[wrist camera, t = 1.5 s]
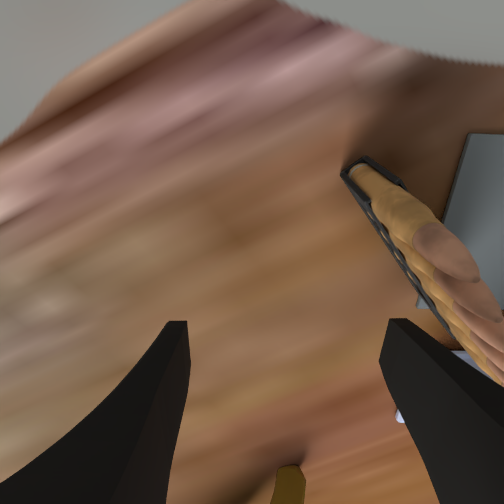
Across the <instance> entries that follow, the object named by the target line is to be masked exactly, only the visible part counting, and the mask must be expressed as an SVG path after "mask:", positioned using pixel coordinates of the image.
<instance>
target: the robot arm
mask: <svg viewBox="0 0 504 504" xmlns="http://www.w3.org/2000/svg"><path fill="white" fill-rule="evenodd" d="M379 364H380V367H381V370H382V373H383V376H384V379H385V381H386V384H387V387H388V389H389V392H390V394H391V396H392V398H393V400H394V402H395V404H396V406H397V408H398V410H397V413H396V419H397V421H398V422H400V423H405V424H406V426H407V428H408V430H409V432H410V434H411V436H412V438H413V440H414V442H415V444H416V446H417V448H418V450H419V453H420V455H421V457H422V459H423V461H424V464H425V466H426V469H427V471H428V474H429V476H430V479H431V482H432V484H433V487H434V489H435V492H436V494H437V497H438V500H439V503H440V504H504V387H503V386H501V385H499V384H498V383H496V382H495V381H494V380H493V379H492V378H491V377H490V376H489V375H488V374H487V373H485V372H484V371H483V370H482V369H481V368H480V367H479V366H478V365H477V364H476V363H475V361H474V360H473V359H472V358H471V356H470V355H469V354H468V353H467V351H450V350H449V349H447V348H446V347H445V346H443V345H442V344H441V343H439V342H438V341H437V340H435V339H434V338H433V337H431V336H430V335H429V334H427V333H426V332H425V331H423V330H422V329H421V328H419V327H418V326H417V325H415V324H414V323H412V322H411V321H410V320H408V319H407V318H390V319H389V323H388V326H387V330H386V334H385V338H384V342H383V346H382V350H381V354H380V358H379ZM190 368H191V359H190V349H189V338H188V327H187V321H169V322H168V323H166V325H165V326H164V328H163V329H162V331H161V332H160V334H159V335H158V337H157V338H156V339H155V341H154V342H153V343H152V345H151V346H150V347H149V349H148V350H147V351H146V352H145V354H144V355H143V356H142V358H141V359H140V360H139V361H138V363H137V364H136V365H135V366H134V367H133V369H132V370H131V371H130V372H129V373H128V374H127V375H126V377H125V378H124V379H123V380H122V381H121V382H120V383H119V384H118V386H117V387H116V388H115V389H114V390H113V391H112V392H111V393H110V394H109V395H108V396H107V397H106V398H105V399H104V400H103V401H102V402H101V403H100V404H99V405H98V406H97V407H96V408H95V409H94V410H93V411H92V412H91V413H90V414H88V415H87V416H86V417H85V418H84V419H83V420H82V421H81V422H79V423H78V424H77V425H76V426H75V427H74V428H73V429H72V430H70V431H69V432H68V433H67V434H66V435H65V436H63V437H62V438H61V439H60V440H58V441H57V442H56V443H55V444H53V445H52V446H51V447H49V448H48V449H47V450H46V451H44V452H43V453H42V454H40V455H39V456H38V457H37V458H35V459H34V460H33V461H31V462H30V463H29V464H27V465H26V466H25V467H23V468H22V469H20V470H19V471H18V472H16V473H15V474H13V475H12V476H10V477H9V478H7V479H6V480H4V481H3V482H1V483H0V504H166V497H167V490H168V483H169V476H170V470H171V464H172V459H173V454H174V450H175V446H176V441H177V437H178V433H179V428H180V424H181V420H182V415H183V411H184V407H185V402H186V398H187V393H188V386H189V377H190Z"/></svg>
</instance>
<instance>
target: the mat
mask: <svg viewBox="0 0 504 504" xmlns="http://www.w3.org/2000/svg"><path fill="white" fill-rule="evenodd" d="M441 223H442V224H443V225H444V226H445V227H446V229H448V230H449V231H450V232H452V233H453V234H454V235H455V236H456V237H457V238H458V239H459V240H460V241H461V242H462V243H463V244H464V245H465V246H466V248H467V249H468V250H469V252H470V253H471V255H472V257H473V258H474V260H475V262H476V264H477V266H478V268H479V271H480V278H481V279H482V280H483V281H484V282H485V283H486V285H487V286H488V287H489V289H490V290H491V292H492V293H493V295H494V297H495V299H496V300H497V302H498V304H499V306H500V308H501V310H504V134H475V133H468V136H467V139H466V142H465V146H464V149H463V152H462V156H461V159H460V162H459V165H458V169H457V172H456V175H455V179H454V182H453V185H452V188H451V192H450V195H449V198H448V202H447V205H446V208H445V212H444V215H443V218H442V221H441ZM416 307H417V308H418V309H430V308H429V307H428V306H427V304H426V303H425V302H424V300H423V299H422V298H421V297H420V295H419V297H418V300H417V304H416Z"/></svg>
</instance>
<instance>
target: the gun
mask: <svg viewBox="0 0 504 504" xmlns="http://www.w3.org/2000/svg"><path fill="white" fill-rule="evenodd" d="M305 486H306V479H305V477H304V475H303V473H302V471H301V469H300V467H298V466H296V465H289V466H285V467H281V468H279V469H278V471H277V476H276V483H275V489H274V493H273V496H272V499H271V502H270V504H304V496H305Z"/></svg>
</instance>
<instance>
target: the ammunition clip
mask: <svg viewBox="0 0 504 504" xmlns="http://www.w3.org/2000/svg"><path fill="white" fill-rule="evenodd" d="M340 176H341V178H342V179H343V181H344V182H345V184H346V185H347V187H348V189H349V190H350V192H351V193H352V195H353V196H354V198H355V199H356V201H357V202H358V204H359V205H360V207H361V208H362V210H363V211H364V213H365V214H366V216H367V217H368V219H369V220H370V222H371V223H372V225H373V226H374V228H375V229H376V231H377V232H378V234H379V235H380V237H381V238H382V240H383V241H384V243H385V244H386V246H387V247H388V249H389V250H390V252H391V253H392V255H393V257H394V258H395V260H396V261H397V263H398V264H399V266H400V267H401V269H402V270H403V272H404V273H405V275H406V276H407V278H408V279H409V281H410V282H411V284H412V285H413V287H414V288H415V290H416V291H417V293H418V294H419V295H420V297H421V298H422V299H423V300H424V302H425V303H426V304H427V306H428V307H429V308H430V310H431V311H432V312H433V313H434V315H435V316H436V317H437V319H438V320H439V321H440V322H441V324H442V325H443V326H444V328H445V329H446V330H447V332H448V333H449V334H450V335H451V337H452V338H453V339H457V340H458V341H459V343H460V344H461V345H462V346H463V348H464V349H465V350H466V351H467V353H468V354H469V355H470V356H471V358H472V359H473V360H474V361H475V363H476V364H477V365H478V366H479V367H480V368H481V369H482V370H483V371H484V372H485V373H487V374H488V375H489V376H490V377H491V378H492V379H493V380H494V381H495V382H496V383H498V384H499V385H501V386H503V387H504V317H503V315H502V311H501V308H500V306H499V304H498V302H497V300H496V299H495V297H494V295H493V293H492V292H491V290H490V289H489V287H488V286H487V285H486V283H485V282H484V281H483V280H482V279H481V278H480V271H479V268H478V266H477V264H476V262H475V260H474V258H473V257H472V255H471V253H470V252H469V250H468V249H467V248H466V246H465V245H464V244H463V243H462V242H461V241H460V240H459V239H458V238H457V237H456V236H455V235H454V234H453V233H452V232H450V231H449V230H448V229H446V227H445V226H444V225H443V224H442V223H441V222H440V221H439V220H438V219H436V218H435V216H434V214H433V213H432V211H431V210H430V208H428V207H427V206H426V205H425V204H423V203H422V202H420V201H419V200H418V199H416V198H415V197H414V196H412V195H411V194H409V192H408V190H407V188H406V187H405V185H404V183H403V182H402V180H401V179H400V178H398V177H397V176H395V175H394V174H392V173H391V172H390V171H388V170H387V169H385V168H384V167H382V166H381V165H379V164H378V163H377V162H375V161H374V160H372V159H371V158H369V157H368V156H366V155H365V156H363V157H362V158H361V159H359V160H358V161H356V162H355V163H354V164H352V165H351V166H349V167H348V168H346V169H345V170H344V171H342V172H341V173H340Z"/></svg>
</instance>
